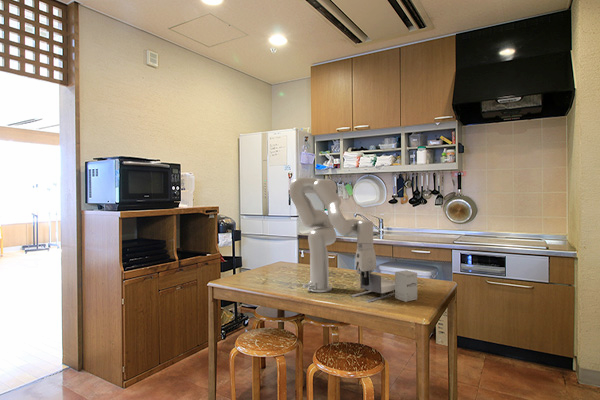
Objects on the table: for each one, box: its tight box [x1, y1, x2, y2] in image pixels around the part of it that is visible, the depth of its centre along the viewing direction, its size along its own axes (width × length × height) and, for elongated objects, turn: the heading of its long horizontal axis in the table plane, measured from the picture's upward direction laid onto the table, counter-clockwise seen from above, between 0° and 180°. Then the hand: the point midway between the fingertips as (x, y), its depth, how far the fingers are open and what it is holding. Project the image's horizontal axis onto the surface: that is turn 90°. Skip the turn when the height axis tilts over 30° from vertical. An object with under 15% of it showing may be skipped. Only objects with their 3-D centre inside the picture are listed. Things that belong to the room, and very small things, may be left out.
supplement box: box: [394, 270, 418, 303], centre depth 165 cm, size 7×7×13 cm
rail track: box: [350, 279, 395, 303], centre depth 174 cm, size 28×14×4 cm, turn 127°
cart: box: [359, 272, 395, 296], centre depth 174 cm, size 15×14×10 cm
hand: (365, 284), depth 168 cm, fingers closed
